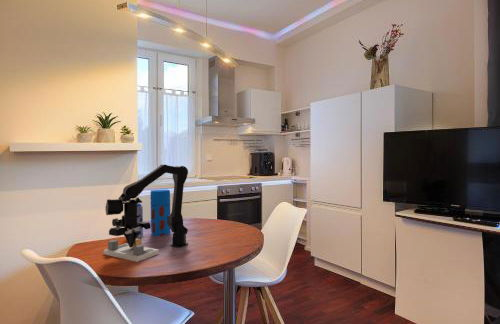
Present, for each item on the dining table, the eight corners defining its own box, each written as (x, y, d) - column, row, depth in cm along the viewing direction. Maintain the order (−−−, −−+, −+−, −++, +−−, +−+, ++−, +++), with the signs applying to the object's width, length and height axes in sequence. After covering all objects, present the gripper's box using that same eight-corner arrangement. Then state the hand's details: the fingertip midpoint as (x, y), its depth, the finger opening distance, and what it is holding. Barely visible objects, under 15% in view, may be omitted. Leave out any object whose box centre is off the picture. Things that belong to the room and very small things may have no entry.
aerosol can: (140, 238, 170) (140, 201, 169) (126, 238, 169) (125, 201, 169) (145, 234, 178) (144, 199, 177) (131, 234, 177) (130, 199, 177)
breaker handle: (136, 245, 146) (136, 238, 146) (141, 246, 145) (141, 239, 145) (131, 247, 144) (131, 239, 144) (136, 248, 142) (135, 240, 142)
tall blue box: (171, 234, 176) (171, 190, 176) (151, 236, 172) (151, 191, 172) (169, 230, 186) (168, 189, 186) (150, 232, 182) (149, 190, 182)
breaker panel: (125, 247, 152) (125, 236, 152) (158, 253, 141) (158, 241, 141) (103, 254, 142) (103, 241, 142) (137, 261, 131) (136, 248, 131)
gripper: (135, 209, 154) (135, 240, 154) (100, 214, 137) (100, 249, 137) (151, 210, 148) (151, 243, 148) (117, 216, 132) (117, 253, 132)
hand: (130, 247), depth 141 cm, fingers closed
